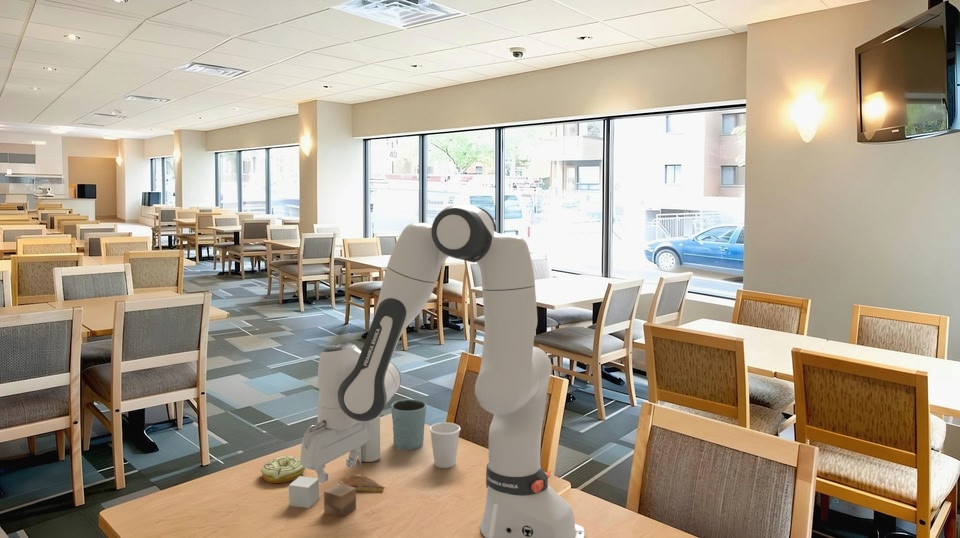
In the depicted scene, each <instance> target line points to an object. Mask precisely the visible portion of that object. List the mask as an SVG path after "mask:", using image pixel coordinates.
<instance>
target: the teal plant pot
mask: <svg viewBox="0 0 960 538" xmlns="http://www.w3.org/2000/svg"><path fill="white" fill-rule="evenodd" d="M390 408H391V418H392V431H393V432H392V434H393V437H392V438H393V439H392V440H393V442H392V443H393V447H395V449H398V450H401V451H413V450H418V449H421V448H422V447H423V445H424V438H425V437H424V435H425V425H426V413H427V402H425V401H423V400H419V399H415V398H414V399H412V398H411V399H410V398H409V399H400V400H396V401H394V402H392V403H391V405H390Z"/></svg>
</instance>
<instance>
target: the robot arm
mask: <svg viewBox="0 0 960 538" xmlns="http://www.w3.org/2000/svg"><path fill="white" fill-rule="evenodd" d="M530 253H531V252H530V249H529V245H528V244H527V242H526V240H524V238H522V237H521V236H519V235H517V234H513V233H499V232H497V226H496V221H495V220H494V218H493V216H492V215H491V214H490V213H489V212H488V211H487V210H486V209H483V208H482V207H479V206H476V205H472V204H468V203H467V204H466V203H465V204H454V205H450V206H447V207H445V208H444V209H442V210H441V211H440V212H439V213H438V214H437V215H436V216H435V218H434V219H433V222H432V224H429V223H425V222H413V223H410V224H408V225H406V226H405V228H403V230H402V232H401V233H400V235H399V237H398V239H397V241H396V243H395V245H394V247H393V250H392V252H391V254H390V257H389V260H388V263H387V266H386V269H385V272H384V276H383V279H382V282H381V287H380V292H379V296H378V299H377V300H378V301H377V303H376V306H375V312H374V314H373V315H374V316H373V319H372V321H371V324H370V327H369V330H368V333H367V334H366V338H365V341H364V343H363V345H362V348H361V349H360V348H359V347H358V346H357V345H356V344H354V343H350V342H342V343H337V344H334V345H330V346H328V347H326V348H324V349H323V351H322V352H320V355H319V359H318V366H317V367H318V368H317V369H318V370H317V388H318V391H319V395H318V399H317V423H315V424H312V425H310V426H308V428H307V430H306V431H305V432H304V433H303V439H302V442H301V449H300V456H299V458H300V463H301V465H302V466H303V467H304V468H305V469H308V470H311V471H314V472H315V473H316V475H317V478H318V482H319V484H320V483H321V484H324V483H326V482H327V481H329V473H328V472H325V470H324V469H326V465H327V464H329V463H331V462H332V461H335V460H336V459H338V458H340V457H343V456H344V455H346V454H348V453H349V454H348V457H347V458H346V459H345V460H346V461H345V462H346V463H345V466H346V467H348V468H351V469H352V468H353V467H355V466H356V465H357V459H358V454H359V451H360V446H362V445H364V444H366V443H368V442H369V441H370V439H371V436H372V419H374V418H376V417H377V416H378V415H379V414H380V415H381V413H382V412H383V410H384V408H385V406H386V405H387V404H388V403H389V402H390V401H391V399H393V397H394V396H395V394H396V393H397V392H398V390H399V388H400V387H401V383H402V381H401V374H400V371H399V369H398V368H397V366H396V365H395V364H394V363H392V362H391V361H392V358H393V357H394V356H393V355H394V353H395V350H396V347H397V345H398V343H399V340H400V339H401V336H402V335H403V333H404V332H405V330H406V329H407V328H408V327H409V325H410V324H411V323H412V322H413V321H414V320H415V319H416V318H417V317H418V315H419V314H420V313H421V312H422V311H423V310H424V308H425V307H426V305H427V303H428V302H429V300H430V298H431V295H432V293H433V292H434V289H435V286H436V283H437V280H438V277H439V274H440V271H441V268H442V265H443V264H444V262H445V261H446V260H447V259H448V258H453V259H457V260H461V261H462V260H463V261H466V262H471V263H476V264H477V265H478V267H479V270H480V276H481V288H482V300H483V301H482V302H483V303H482V304H483V319H484V335H483V344H482V350H481V351H482V353H481V358H480V359H481V360H480V361H481V362H480V368H479V373H478V375H477V378H476V381H475V384H474V393H475V398H476V400H477V402H478V404H479V405H480V406H481V408H483V410H485V411H486V412H488V413H490V414H492V415H493V417H492V420H491V423H490V426H489V429H488V430H489V431H488V463H487V464H486V470H485V471H486V472H485V478H486V479H485V480H486V481H485V484H486V485H485V486H486V487H485V488H486V489H487V491H486V500H485V506H484V512H483V516H482V518H481V523H480V525H479V530H480V532H481V534H482V536H484V538H586V531H585V528H584V527H583V526H582V525H579V524H577V523H576V521H575V516H574V511H573V508H572V506H571V505H570V503H568V502H567V501H566V500H565V499H564V498H563V497H562V496H560V494H558V493H557V492H556V491H555V490H554V489H553V488H552V487H551V486H550V485H549V478H551V475H552V474H551V473H552V471H551V470H548V472H547V473H546V472H545V471H544V469H543V468H542V465H541V446H542V443H541V442H542V441H541V440H542V429H543V428H542V426H543V422H544V421H543V420H544V414H545V410H546V404H547V396H548V391H549V390H548V388H549V384H550V383H549V382H550V378H551V376H552V375H551V374H552V369H553V368H552V367H553V366H552V362H551V360H550V357H549V356H548V354H547V353H546V351H544V350H543V349H542V348H540V347H537V346H535V345H534V342H535V336H536V330H537V327H538V308H537V296H536V295H537V294H536V283H535V272H534V267H533V263H532V257H531V254H530Z"/></svg>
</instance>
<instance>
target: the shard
mask: <svg viewBox="0 0 960 538" xmlns="http://www.w3.org/2000/svg"><path fill="white" fill-rule="evenodd" d="M338 483H340V484H344V485H347V486H351V487H354V488H356V492H373V493H374V492H384V490H385V488H386V487H384V486H383V485H381V484H379V483H378V482H376V481H375V480H373V479H371V478H369V476H366V475H363V474H352V475H350V476H347V477H346V476H345V477H343V478H340V479H338Z"/></svg>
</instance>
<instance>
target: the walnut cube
mask: <svg viewBox="0 0 960 538" xmlns="http://www.w3.org/2000/svg"><path fill="white" fill-rule="evenodd" d="M323 504H324V505H323V506H324V507H323V509H324V510H323V512H324V513H326V514H329V515H332V516H335V517H337V518H344V517H345V516H347V515H348V514H349V513H351V512H353V511H355V509H357V491H356V488H354V487H351V486H347V485H344V484H340V483H339V482H338V483H337V484H335V485H333V486H331V487H330V488H328V489H326V490H324V491H323Z"/></svg>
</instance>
